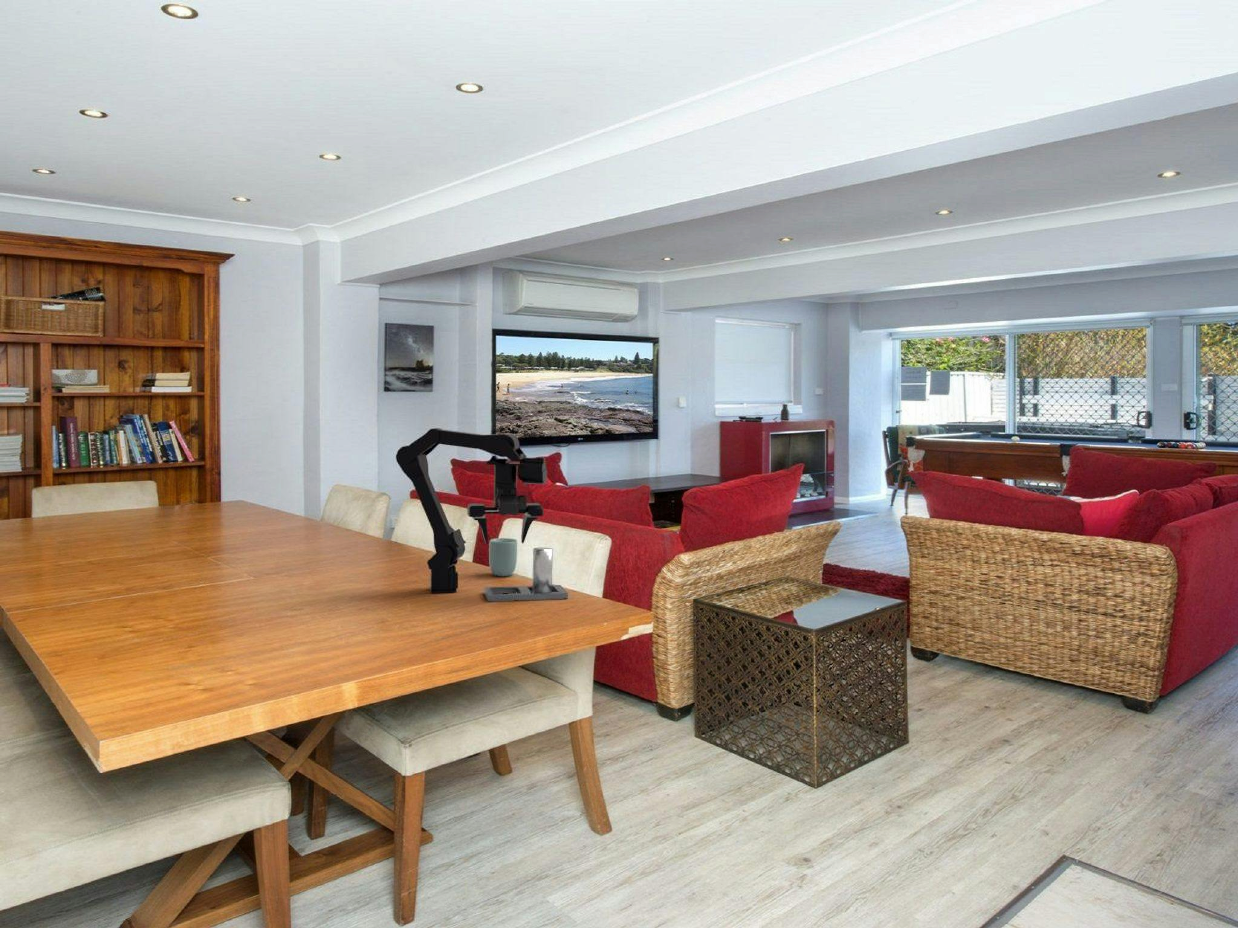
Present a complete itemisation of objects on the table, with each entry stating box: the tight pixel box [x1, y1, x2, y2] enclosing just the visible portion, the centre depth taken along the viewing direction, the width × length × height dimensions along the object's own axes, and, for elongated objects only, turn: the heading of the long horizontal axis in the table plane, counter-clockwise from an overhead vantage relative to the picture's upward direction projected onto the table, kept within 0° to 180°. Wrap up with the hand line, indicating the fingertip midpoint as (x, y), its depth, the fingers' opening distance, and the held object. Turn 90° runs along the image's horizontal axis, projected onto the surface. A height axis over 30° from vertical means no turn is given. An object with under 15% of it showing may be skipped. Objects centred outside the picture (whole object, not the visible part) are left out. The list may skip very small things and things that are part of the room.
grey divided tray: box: [483, 584, 569, 603], centre depth 228 cm, size 20×10×2 cm, turn 105°
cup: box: [488, 537, 518, 577], centre depth 254 cm, size 8×8×10 cm
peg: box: [531, 546, 554, 593], centre depth 229 cm, size 5×5×12 cm
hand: (504, 543), depth 229 cm, fingers open, 9 cm apart
